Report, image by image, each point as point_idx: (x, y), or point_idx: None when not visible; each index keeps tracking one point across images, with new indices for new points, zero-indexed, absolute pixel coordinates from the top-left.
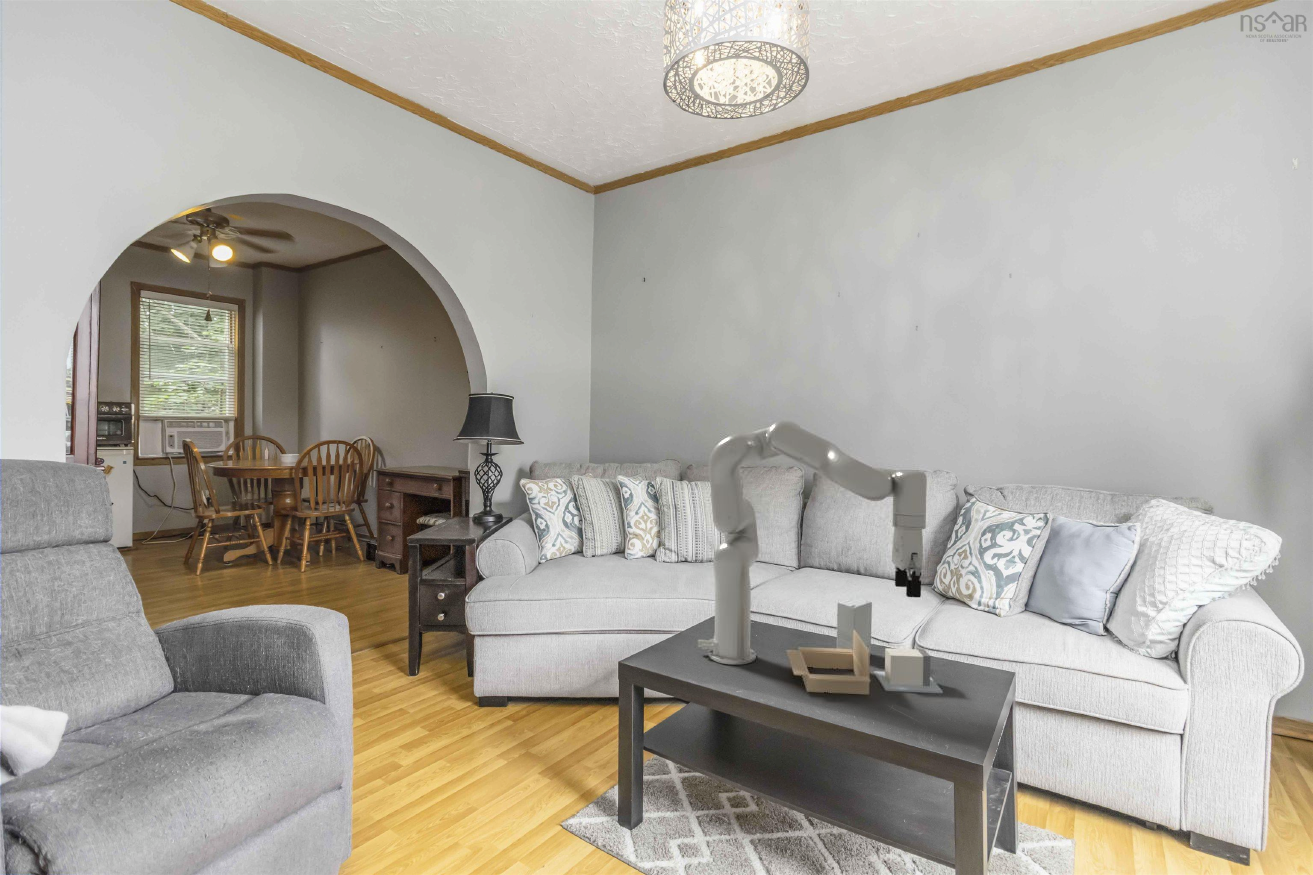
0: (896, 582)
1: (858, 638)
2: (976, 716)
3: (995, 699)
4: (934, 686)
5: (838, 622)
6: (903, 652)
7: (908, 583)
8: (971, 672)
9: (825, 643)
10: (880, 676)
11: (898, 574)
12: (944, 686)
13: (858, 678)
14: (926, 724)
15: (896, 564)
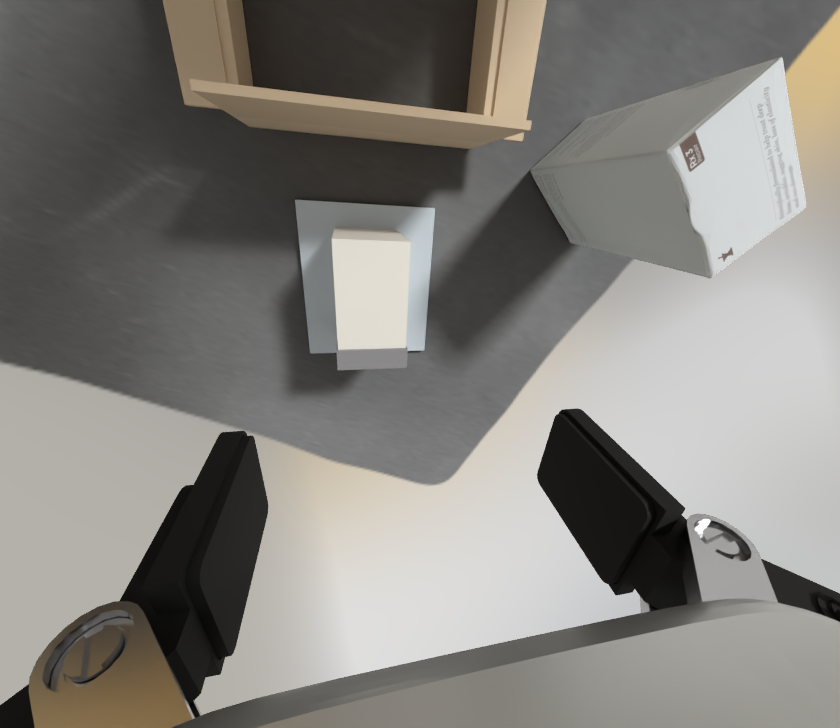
0: (574, 431)
1: (417, 107)
2: (180, 385)
3: (298, 442)
4: None
5: (671, 95)
6: (371, 296)
7: (171, 550)
8: (443, 437)
9: None
10: (394, 215)
11: (618, 498)
12: None
13: (193, 50)
14: (57, 246)
15: (523, 708)
